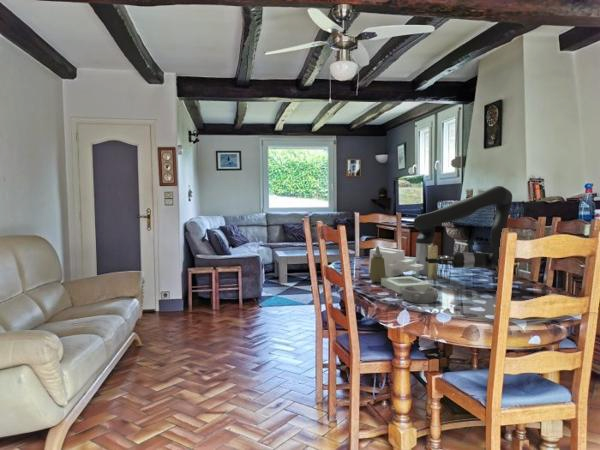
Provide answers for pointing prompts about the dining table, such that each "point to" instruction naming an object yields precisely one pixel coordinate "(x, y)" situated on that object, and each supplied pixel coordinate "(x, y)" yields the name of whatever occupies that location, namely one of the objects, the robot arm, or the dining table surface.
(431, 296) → the dish
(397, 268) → the blocky voxel creature
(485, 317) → the dining table surface
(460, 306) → the dining table surface
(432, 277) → the tan rectangular block
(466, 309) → the dining table surface
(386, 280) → the tray
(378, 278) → the squeeze bottle
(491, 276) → the dining table surface
